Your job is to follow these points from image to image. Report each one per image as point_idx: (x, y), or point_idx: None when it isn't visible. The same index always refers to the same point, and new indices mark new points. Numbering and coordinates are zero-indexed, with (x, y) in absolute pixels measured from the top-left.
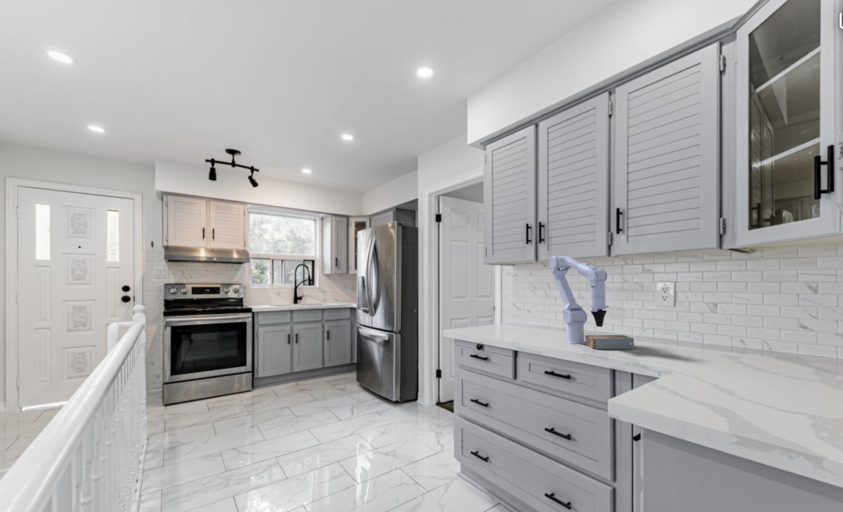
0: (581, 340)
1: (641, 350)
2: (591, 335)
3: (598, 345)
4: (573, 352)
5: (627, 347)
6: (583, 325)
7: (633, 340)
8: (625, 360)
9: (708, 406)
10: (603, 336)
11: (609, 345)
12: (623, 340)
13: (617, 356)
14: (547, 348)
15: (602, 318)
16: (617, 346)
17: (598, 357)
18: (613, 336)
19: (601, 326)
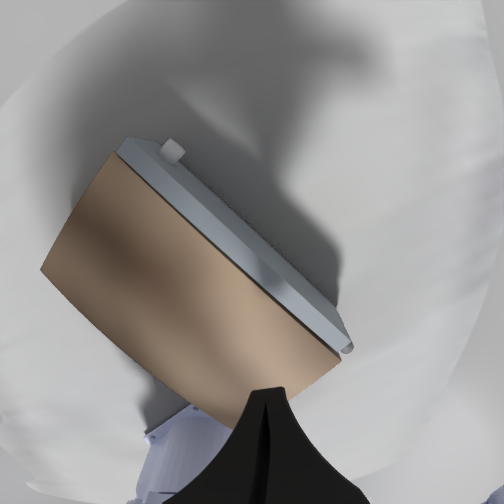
0: (215, 428)
1: (151, 103)
2: (217, 410)
3: (328, 306)
4: (453, 339)
5: (185, 169)
6: (171, 488)
7: (135, 138)
8: (478, 87)
9: None
10: (196, 347)
11: (276, 257)
12: (192, 189)
13: (432, 139)
14: (416, 433)
15: (308, 444)
16: (235, 217)
17: (496, 206)
18: (138, 296)
19: (283, 389)
